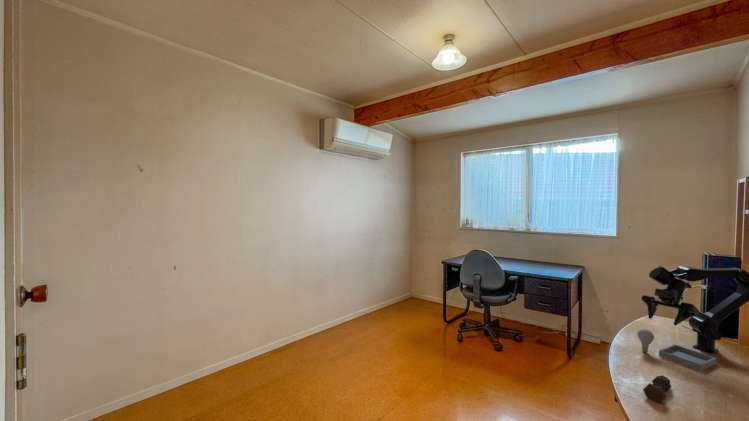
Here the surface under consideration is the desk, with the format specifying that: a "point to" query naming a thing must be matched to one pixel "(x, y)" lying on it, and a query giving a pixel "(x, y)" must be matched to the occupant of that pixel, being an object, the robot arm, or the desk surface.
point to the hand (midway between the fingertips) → (661, 321)
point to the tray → (687, 357)
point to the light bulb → (645, 338)
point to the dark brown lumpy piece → (657, 389)
